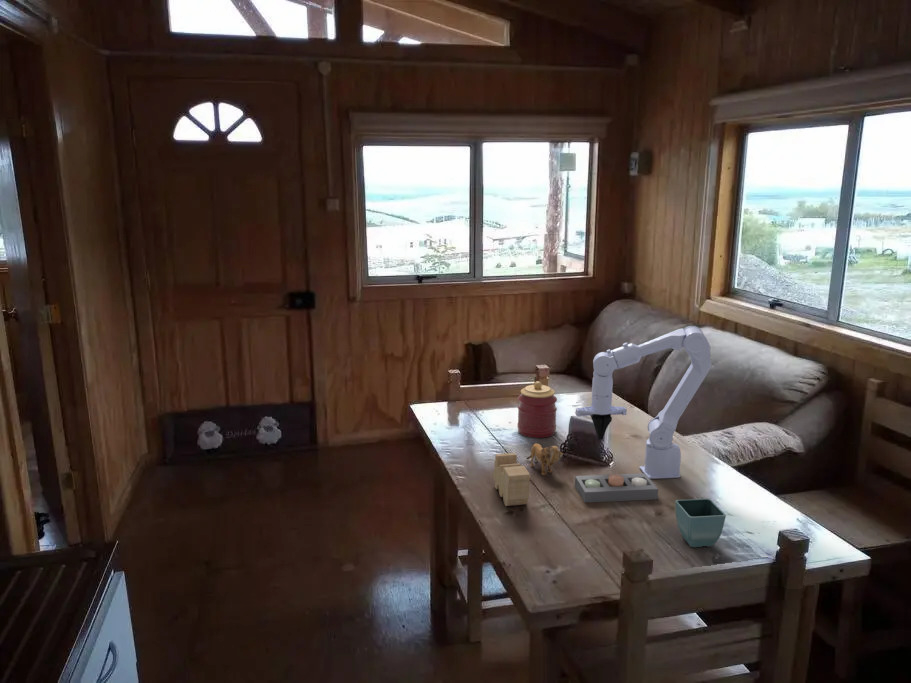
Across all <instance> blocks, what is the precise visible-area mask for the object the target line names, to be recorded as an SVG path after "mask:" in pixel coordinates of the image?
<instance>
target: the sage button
mask: <svg viewBox="0 0 911 683" xmlns="http://www.w3.org/2000/svg"><path fill="white" fill-rule="evenodd" d="M585 487H586V488H594V487H600V482H599V481H597V480H592V479H590V480H586V481H585Z"/></svg>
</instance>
